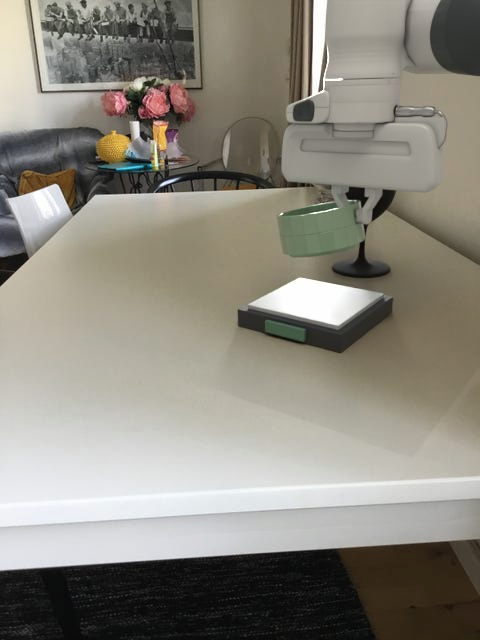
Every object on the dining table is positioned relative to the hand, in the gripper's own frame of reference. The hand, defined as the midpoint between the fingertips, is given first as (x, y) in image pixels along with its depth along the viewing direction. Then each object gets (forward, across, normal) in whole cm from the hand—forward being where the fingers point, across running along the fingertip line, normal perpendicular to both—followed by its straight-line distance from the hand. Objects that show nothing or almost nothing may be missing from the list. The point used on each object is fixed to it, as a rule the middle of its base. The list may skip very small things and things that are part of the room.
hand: (354, 222), depth 72 cm
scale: (+15, +5, 0) cm, 15 cm away
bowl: (+4, +4, 0) cm, 6 cm away
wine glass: (+15, +10, -25) cm, 31 cm away
